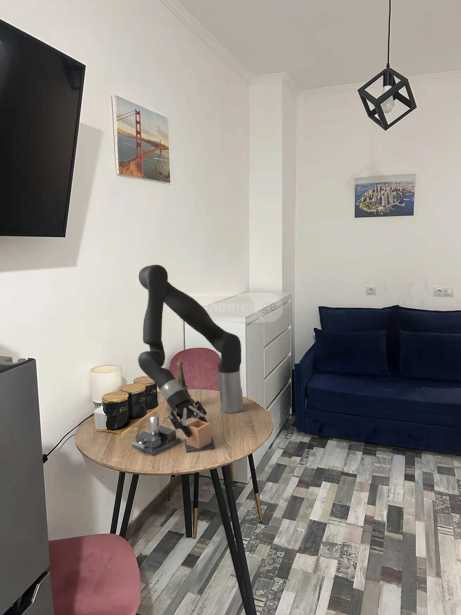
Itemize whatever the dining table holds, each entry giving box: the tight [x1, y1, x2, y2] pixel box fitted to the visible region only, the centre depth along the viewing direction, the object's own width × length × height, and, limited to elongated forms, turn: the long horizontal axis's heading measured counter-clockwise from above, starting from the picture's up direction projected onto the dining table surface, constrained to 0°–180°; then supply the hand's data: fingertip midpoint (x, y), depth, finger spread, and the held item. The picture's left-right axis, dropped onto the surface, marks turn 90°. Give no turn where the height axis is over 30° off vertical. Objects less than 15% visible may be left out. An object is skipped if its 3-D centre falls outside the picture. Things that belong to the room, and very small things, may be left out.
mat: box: [184, 435, 216, 454], centre depth 161 cm, size 10×10×1 cm
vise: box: [131, 414, 181, 457], centre depth 162 cm, size 15×11×10 cm
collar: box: [185, 419, 212, 449], centre depth 161 cm, size 6×6×7 cm
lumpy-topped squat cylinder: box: [93, 404, 107, 430], centre depth 184 cm, size 10×13×9 cm
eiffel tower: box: [166, 355, 197, 413], centre depth 197 cm, size 11×11×25 cm
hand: (199, 431), depth 160 cm, fingers open, 8 cm apart
